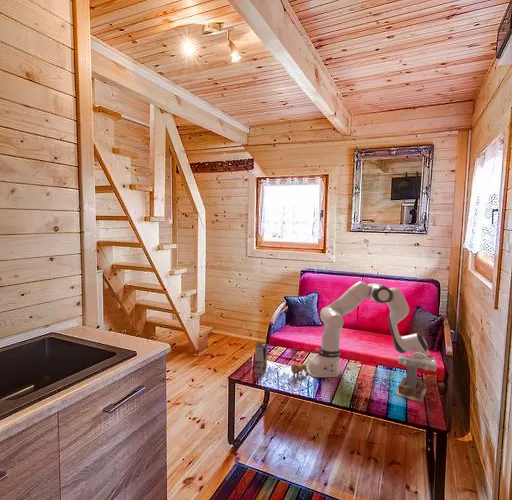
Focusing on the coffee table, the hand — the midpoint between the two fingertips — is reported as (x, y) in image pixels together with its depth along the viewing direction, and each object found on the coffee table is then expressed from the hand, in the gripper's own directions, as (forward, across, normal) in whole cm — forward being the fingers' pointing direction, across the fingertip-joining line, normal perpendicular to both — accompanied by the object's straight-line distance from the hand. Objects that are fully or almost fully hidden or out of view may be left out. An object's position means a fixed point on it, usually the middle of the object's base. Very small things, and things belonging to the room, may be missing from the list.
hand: (415, 367), depth 186 cm
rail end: (+8, 0, +11) cm, 13 cm away
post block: (+8, 0, +12) cm, 14 cm away
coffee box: (+34, -82, +12) cm, 89 cm away
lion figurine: (+28, -58, +12) cm, 66 cm away
